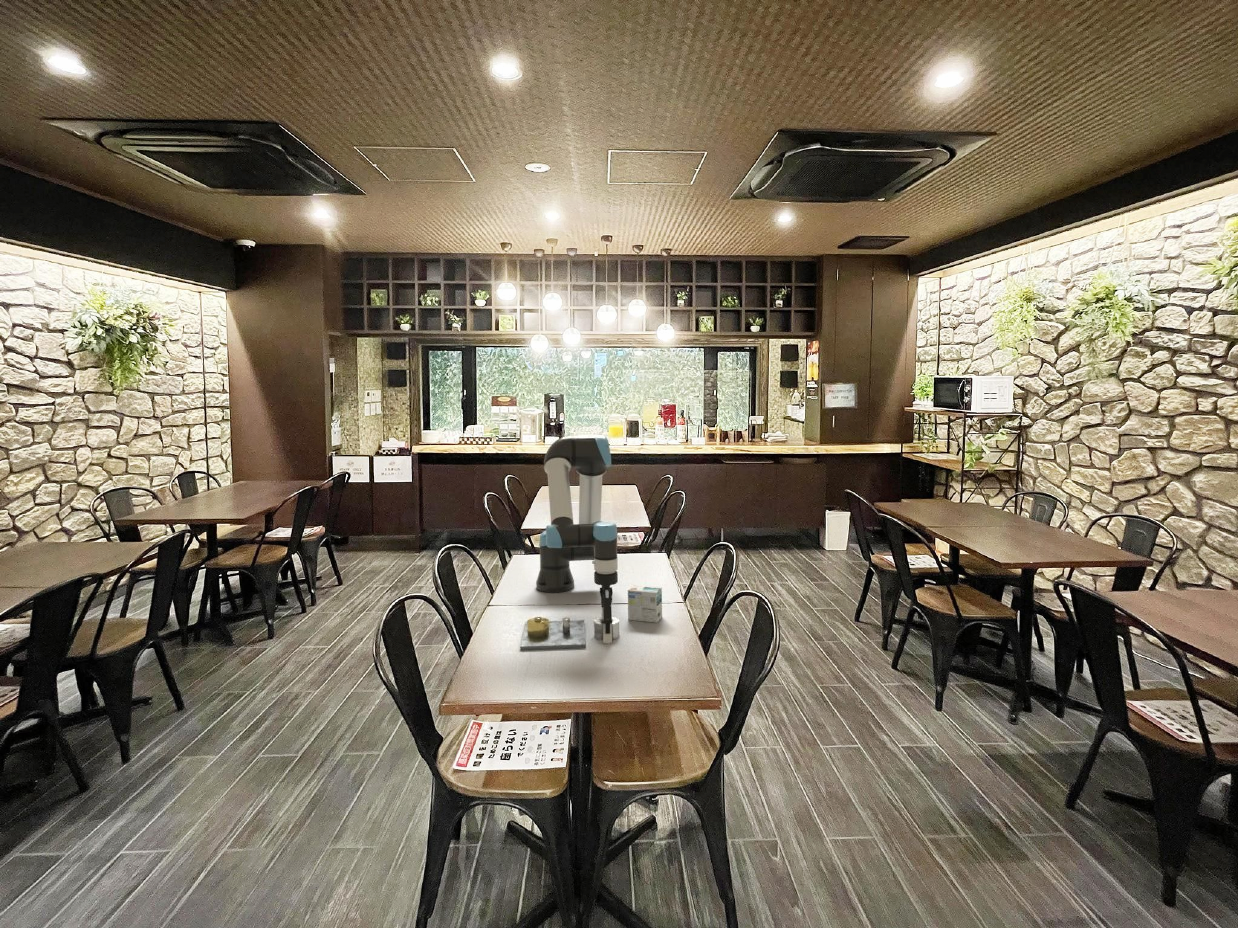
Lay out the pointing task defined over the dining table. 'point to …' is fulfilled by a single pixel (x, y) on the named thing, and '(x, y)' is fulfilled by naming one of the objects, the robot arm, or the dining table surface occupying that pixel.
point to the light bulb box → (645, 603)
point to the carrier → (553, 634)
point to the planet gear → (599, 628)
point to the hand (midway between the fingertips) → (606, 635)
